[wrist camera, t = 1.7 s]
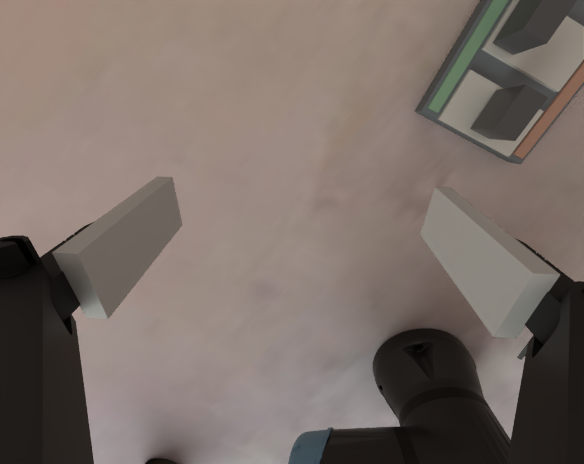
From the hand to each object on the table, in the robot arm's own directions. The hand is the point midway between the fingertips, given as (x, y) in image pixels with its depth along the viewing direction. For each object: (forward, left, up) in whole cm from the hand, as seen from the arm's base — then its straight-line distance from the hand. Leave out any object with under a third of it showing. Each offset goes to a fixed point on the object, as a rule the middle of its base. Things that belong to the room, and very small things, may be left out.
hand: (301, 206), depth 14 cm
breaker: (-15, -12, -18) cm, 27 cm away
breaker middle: (-12, -19, -18) cm, 29 cm away
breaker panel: (-15, -19, -21) cm, 32 cm away
